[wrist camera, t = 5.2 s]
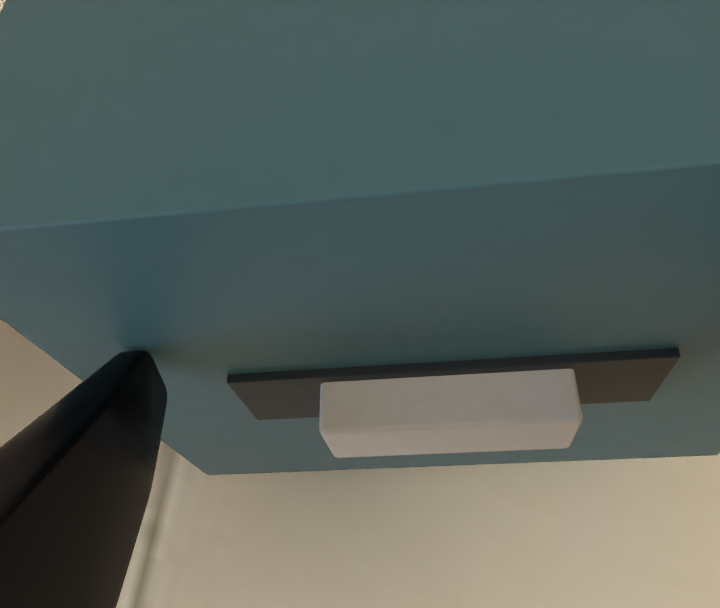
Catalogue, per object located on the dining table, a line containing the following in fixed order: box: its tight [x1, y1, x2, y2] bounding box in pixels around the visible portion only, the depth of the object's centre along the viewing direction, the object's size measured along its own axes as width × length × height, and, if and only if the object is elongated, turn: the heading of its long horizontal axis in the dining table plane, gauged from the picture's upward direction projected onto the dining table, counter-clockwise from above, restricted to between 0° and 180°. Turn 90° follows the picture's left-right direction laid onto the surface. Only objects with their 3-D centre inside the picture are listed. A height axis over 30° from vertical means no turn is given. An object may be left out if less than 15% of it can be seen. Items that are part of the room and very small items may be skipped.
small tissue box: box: [0, 0, 720, 475], centre depth 12 cm, size 7×12×10 cm, turn 95°
